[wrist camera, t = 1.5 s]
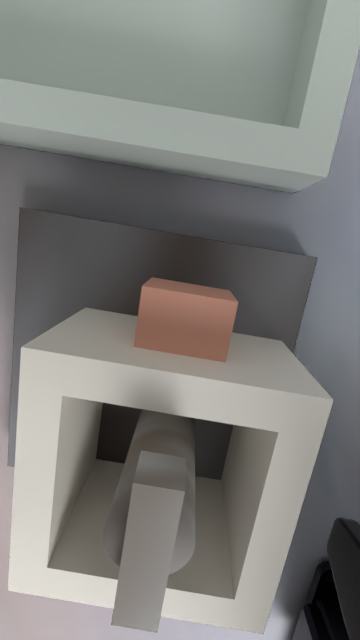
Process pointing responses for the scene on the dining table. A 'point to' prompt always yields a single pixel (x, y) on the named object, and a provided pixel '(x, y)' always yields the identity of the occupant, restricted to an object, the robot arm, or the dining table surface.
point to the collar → (173, 398)
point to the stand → (138, 424)
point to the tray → (181, 84)
